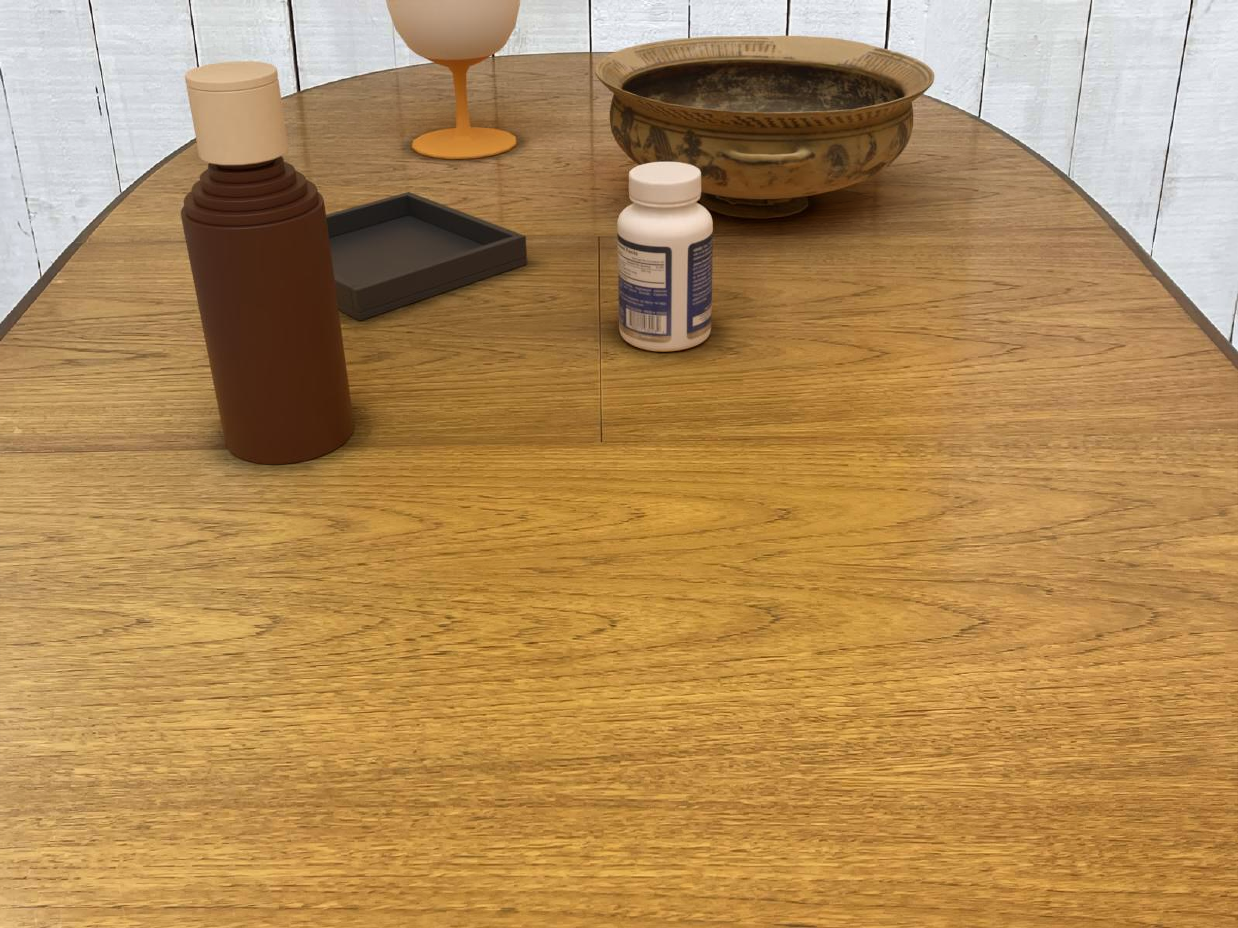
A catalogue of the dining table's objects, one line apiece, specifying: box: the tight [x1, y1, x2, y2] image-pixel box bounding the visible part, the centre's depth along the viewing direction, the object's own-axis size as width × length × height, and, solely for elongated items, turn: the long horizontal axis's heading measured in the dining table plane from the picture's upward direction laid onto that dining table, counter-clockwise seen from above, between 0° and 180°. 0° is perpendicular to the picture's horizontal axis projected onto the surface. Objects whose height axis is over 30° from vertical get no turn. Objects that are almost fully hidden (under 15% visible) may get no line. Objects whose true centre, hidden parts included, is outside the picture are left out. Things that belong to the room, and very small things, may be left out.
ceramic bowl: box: [594, 35, 936, 219], centre depth 92 cm, size 30×24×10 cm
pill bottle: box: [616, 162, 714, 353], centre depth 71 cm, size 5×5×10 cm
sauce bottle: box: [180, 155, 355, 465], centre depth 59 cm, size 6×6×18 cm
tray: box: [326, 191, 528, 322], centre depth 83 cm, size 13×13×2 cm
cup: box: [385, 0, 521, 160], centre depth 104 cm, size 12×12×17 cm
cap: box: [184, 60, 289, 165], centre depth 56 cm, size 4×4×4 cm
